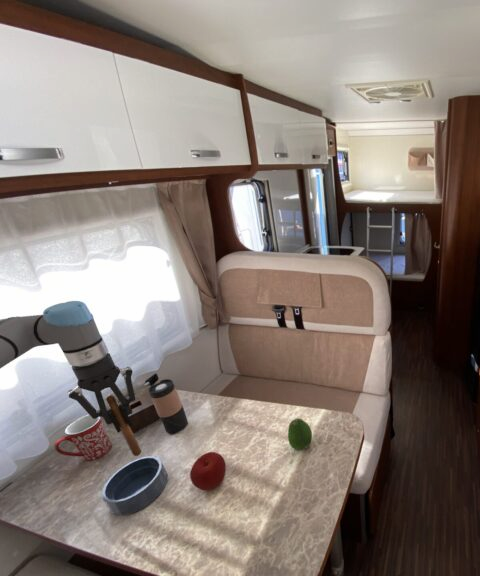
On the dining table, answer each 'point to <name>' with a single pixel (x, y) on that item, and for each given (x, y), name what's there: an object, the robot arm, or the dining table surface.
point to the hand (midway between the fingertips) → (124, 426)
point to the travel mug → (168, 406)
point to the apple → (208, 471)
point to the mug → (86, 438)
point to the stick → (123, 425)
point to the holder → (142, 412)
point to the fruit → (299, 434)
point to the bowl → (135, 485)
